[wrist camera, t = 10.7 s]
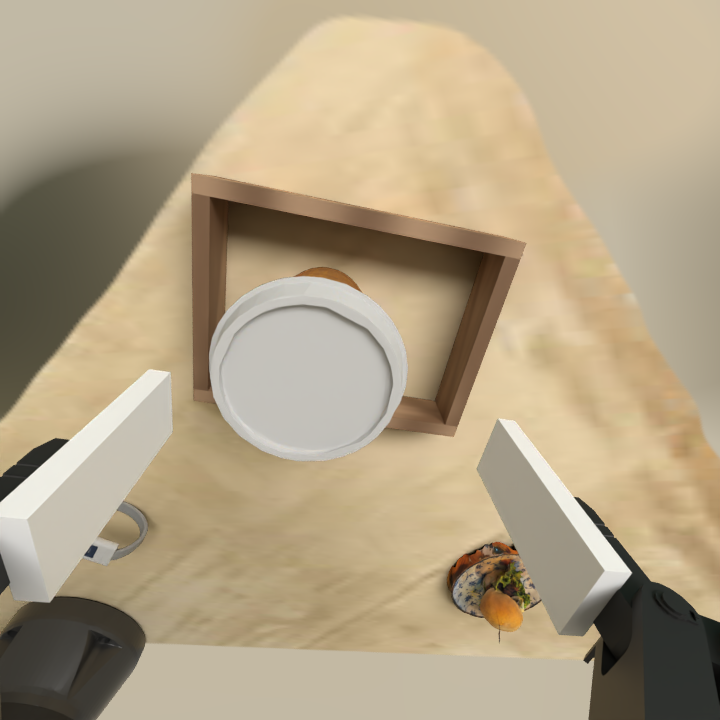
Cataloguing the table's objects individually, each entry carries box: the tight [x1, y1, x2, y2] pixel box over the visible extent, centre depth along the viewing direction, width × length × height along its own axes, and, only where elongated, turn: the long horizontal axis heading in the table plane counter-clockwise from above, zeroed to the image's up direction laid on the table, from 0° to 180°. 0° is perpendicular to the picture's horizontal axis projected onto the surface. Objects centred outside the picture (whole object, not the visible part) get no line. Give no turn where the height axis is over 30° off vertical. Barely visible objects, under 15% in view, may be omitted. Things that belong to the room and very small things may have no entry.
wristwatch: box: [82, 501, 148, 566], centre depth 33 cm, size 6×3×5 cm, turn 57°
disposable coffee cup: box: [209, 267, 408, 461], centre depth 21 cm, size 10×10×12 cm
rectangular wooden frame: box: [191, 173, 526, 437], centre depth 25 cm, size 20×15×4 cm
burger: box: [447, 542, 542, 644], centre depth 38 cm, size 12×12×8 cm
